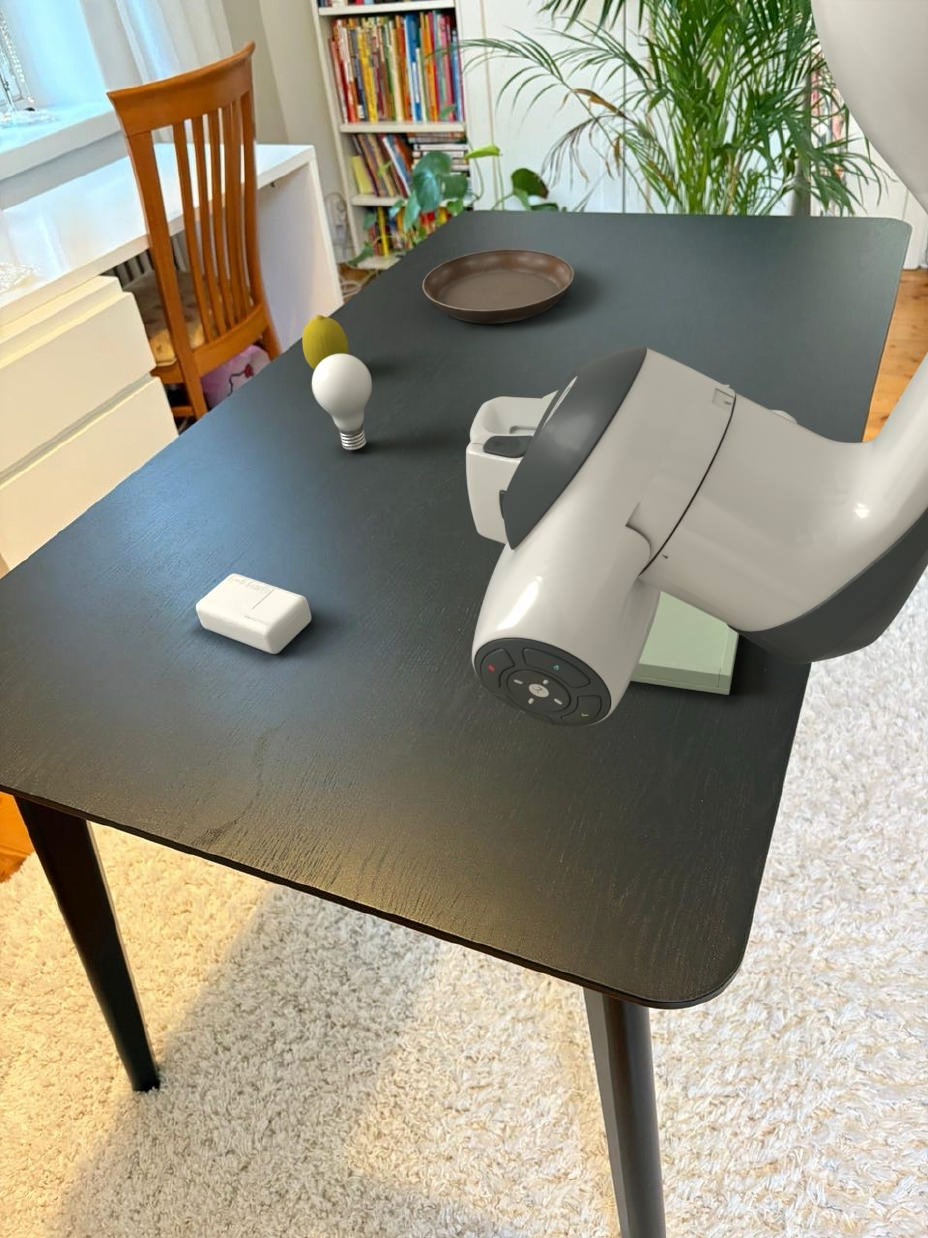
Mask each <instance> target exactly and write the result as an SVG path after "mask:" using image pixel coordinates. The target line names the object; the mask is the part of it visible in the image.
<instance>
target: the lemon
mask: <svg viewBox="0 0 928 1238" xmlns="http://www.w3.org/2000/svg"><path fill="white" fill-rule="evenodd" d="M301 342H302V352H303V354H304V358H305V360H306V362H307V364H308V365H309V366H310V368H311V369H313V370H315V369H316V367H317V365H318V364H319V363H320V362H321V361H322V360H323V359H325V358H326V357H328V356H330V355H334V354H349V341H348V338H347V335H346V333H345V332H344V329H343V327H342V326H341V324H340V323H339V322H338V321H337V320H335V319H334V318H331V317H329V316H323V315H322V314H317V315H316V316H315V317H314V318H312V319H310V320H309V322H308V323H307V324H306V325H305V326H304V329H303V332H302V340H301Z"/></svg>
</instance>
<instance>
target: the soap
mask: <svg viewBox="0 0 928 1238" xmlns="http://www.w3.org/2000/svg"><path fill="white" fill-rule="evenodd" d="M195 611H196V613H197V616H198V619H199V621H200V624H201V626H202V627H203V629H206V630H207V631H209V632H210V631H211V632H213V633H216V634H219V635H221V636H224V637H226V638H230V639H232V640H233V641H237V642H240V643H242V644H244V645H248V646H251V647H253V648H256V649H258V650H260V651H263V652H265V653H268V654H272V655H277V654H279V653H280V652H281V651H282V650H283V649H284V648H285V647H286V646H287V645H288V644H290V642H292V641H293V640H294V638H296V636H297V635H299V634H300V632H301V631H302V630H303V629H305V628H306V627H307V626H308V625H309V624H310V623H311V621H312V613H311V610H310V606H309V602H308V600H307V598H306V597H305V596H304V595H301V594H298V593H295V592H292V591H289V590H287V589H283V588H280V587H277V586H275V585H272V584H268V583H266V582H262V581H259V580H257V579H254V578H251V577H248V576H244V575H242V574H238V573H231V574H229V575H228V576H227V577H226V578H224V579H223V580H222V581H221V582H220V583H219V584H217V585H216V586H215V587H214V588H213V589H212V590H210V591H209V592H208V593H207V594H206V595H204V596H203V598H201V599H200V600H199V601H198V602H197V603H196V604H195Z"/></svg>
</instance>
